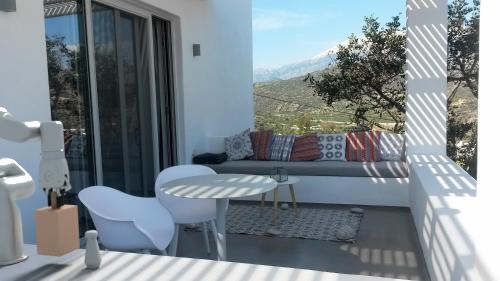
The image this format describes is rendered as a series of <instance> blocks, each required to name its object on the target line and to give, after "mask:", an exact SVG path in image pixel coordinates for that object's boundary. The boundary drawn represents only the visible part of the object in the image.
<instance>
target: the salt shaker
mask: <svg viewBox="0 0 500 281" xmlns="http://www.w3.org/2000/svg"><path fill="white" fill-rule="evenodd" d="M98 235H99V234H98V231H97V230H94V229H91V230H87V231H85V233H84V238H85V239H86V245H85V253H84V254H85V255H84V261H83V264H85V265H84V266H86V268H87V270H95V269H98V268H100V265H101V264H102V261H103V260H102V255H101V250H100V247H99V244H98V239H97V238H98Z"/></svg>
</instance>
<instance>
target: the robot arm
mask: <svg viewBox="0 0 500 281" xmlns="http://www.w3.org/2000/svg"><path fill="white" fill-rule="evenodd" d="M64 135H65V134H64V124H63V123H62V121H60V120H46V121H45V120H22V121H18V120H15V119H14V116H13V115H12V114H11V113H10V112H8V110H7V109H6V108H4V107H3V106H0V139H3V140H6V141H9V142H13V143H19V144H23V143H25V144H26V143H33V142H35V143H36V142H40V156H41V159H39V166H38V187H39V188H40V189H41V190H42V191H44V193H45V194H44V195H45V196H46V197H47V207H51V191H55V190H56V191H57V195H58V196H56V203H57V207H62V206H64V205H65V195H66V193H67V192H68V191H69V190H71V189H72V185H71V183H70V172H69V171H70V170H69V166H68V161H67V159H66V158H65V157H66V156H65V139H64ZM35 191H36V182H35V180H34V178H33V177H32V176H31V175H30V173H28V172H27V171H26V170H25V169H24V168H23V167H22V166H21V165H20V164H18V163H17V161H15V160H14V159H12V158H10V157H8V156H7V157H6V156H3V157H2V156H1V157H0V266H7V265H12V264H14V265H15V264H18V263H20V262H24V261H25V260H27V259H28V258H29V256H30V255H29V252H27V251H25V250H24V248H25V246H24V236H23V222H22V213H21V209H20V207H19V205H18V204H17V203H16V202H15V201H19V200H22V199H26V198H29V197H31V196H32V195H33V194H34V193H35Z"/></svg>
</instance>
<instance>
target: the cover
mask: <svg viewBox="0 0 500 281" xmlns="http://www.w3.org/2000/svg"><path fill="white" fill-rule="evenodd" d="M56 196H58V195H57V190H54V191H51V207H48V206H45V207H40V208H37V209H34V222H35V239H36V252H37V253H36V254H37V255H38V256H50V257H57V258H61V257H63V256H65V255H67V254H69V253H72V252H75V251H76V250H79V249H80V232H79V231H80V230H79V227H80V226H79V216H78V215H79V214H78V213H79V212H78V211H79V210H78V205H76V204H75V205H74V204H64V206H62V207H57V203H56Z"/></svg>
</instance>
